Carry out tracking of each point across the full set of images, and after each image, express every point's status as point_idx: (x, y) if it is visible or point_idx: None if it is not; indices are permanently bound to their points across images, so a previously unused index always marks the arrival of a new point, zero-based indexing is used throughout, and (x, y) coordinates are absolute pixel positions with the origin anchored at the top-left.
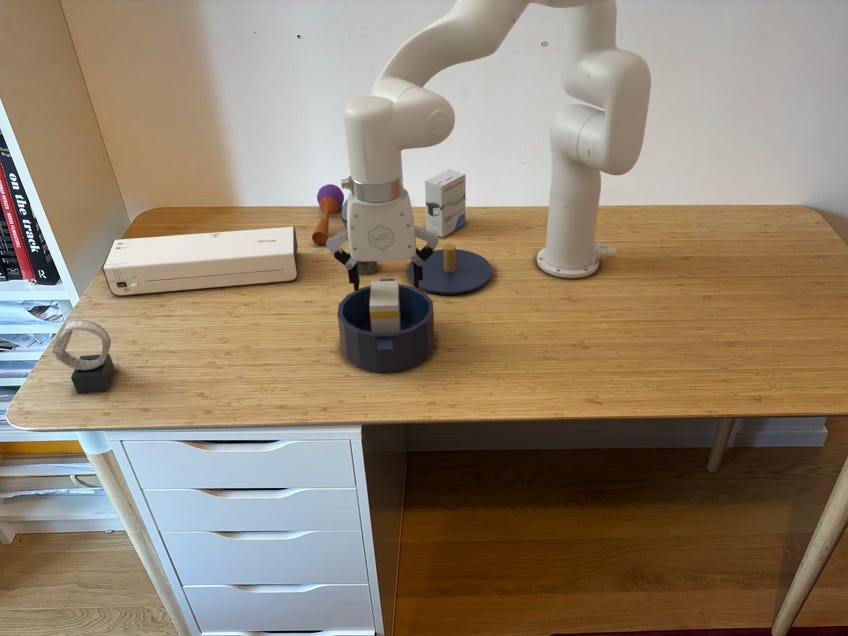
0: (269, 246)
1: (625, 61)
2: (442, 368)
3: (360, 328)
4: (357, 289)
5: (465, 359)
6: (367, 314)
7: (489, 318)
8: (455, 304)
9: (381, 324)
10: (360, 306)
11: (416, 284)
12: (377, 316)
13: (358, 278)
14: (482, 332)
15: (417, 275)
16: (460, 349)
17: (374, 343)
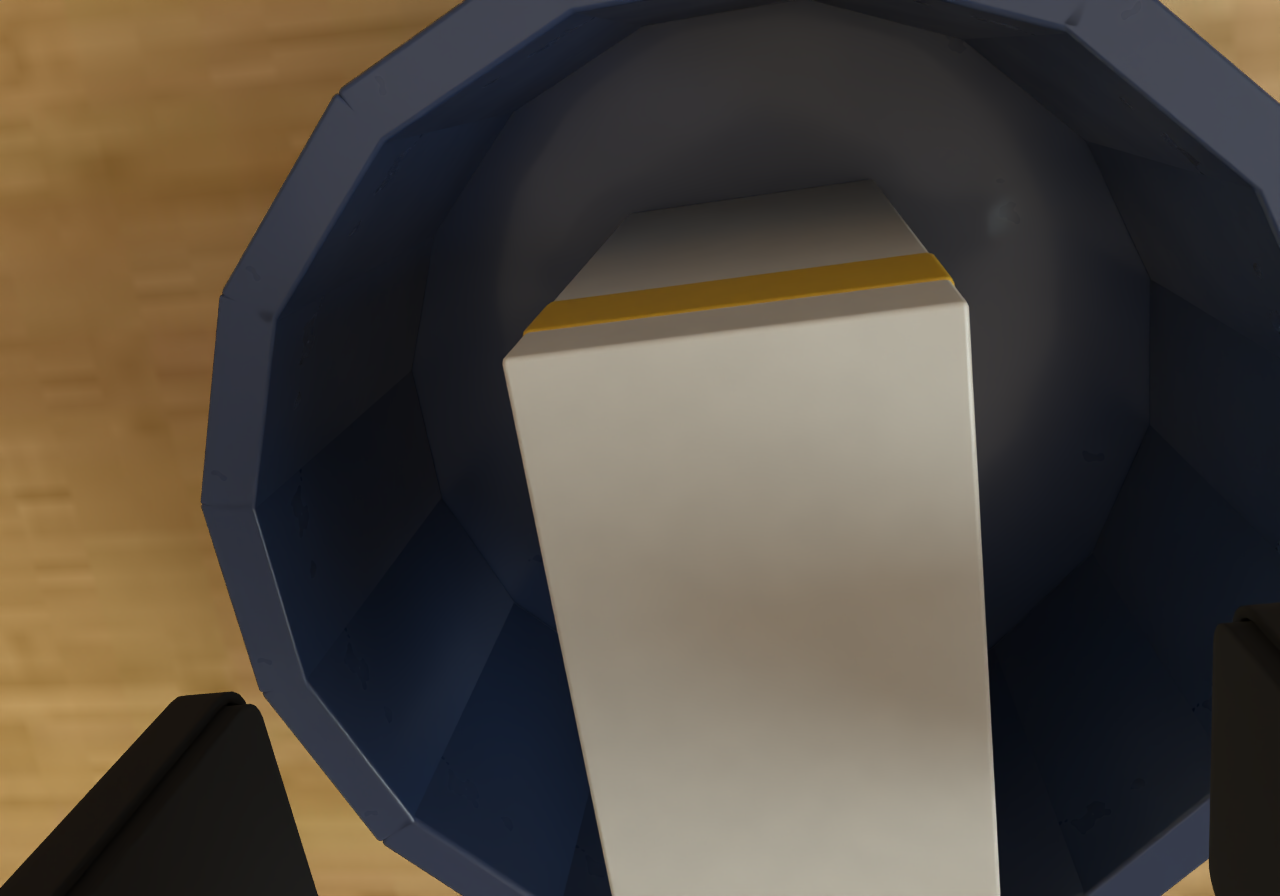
0: None
1: None
2: (258, 87)
3: (1039, 577)
4: (1247, 622)
5: (109, 230)
6: (993, 702)
7: (73, 738)
8: (343, 888)
9: (785, 252)
10: (1078, 733)
11: (184, 725)
12: (835, 271)
13: (1272, 863)
14: (76, 578)
15: (49, 851)
16: (179, 360)
17: None
